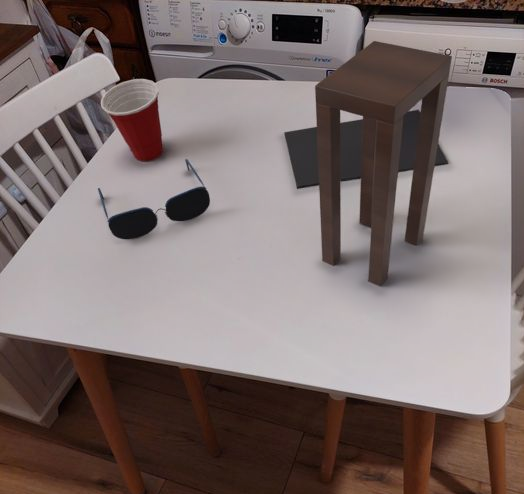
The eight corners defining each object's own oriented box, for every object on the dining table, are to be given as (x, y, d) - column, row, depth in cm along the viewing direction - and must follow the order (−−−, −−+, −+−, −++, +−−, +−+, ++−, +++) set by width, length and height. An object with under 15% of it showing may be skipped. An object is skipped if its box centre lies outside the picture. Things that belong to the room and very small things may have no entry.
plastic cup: (111, 166, 100) (87, 106, 91) (139, 136, 106) (119, 76, 96) (158, 173, 96) (138, 111, 87) (185, 141, 102) (168, 80, 93)
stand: (366, 216, 82) (374, 40, 61) (423, 238, 77) (452, 55, 57) (322, 260, 77) (314, 85, 56) (380, 286, 72) (395, 106, 52)
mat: (418, 111, 98) (418, 109, 98) (447, 163, 87) (448, 161, 87) (284, 134, 99) (284, 132, 99) (297, 188, 88) (296, 186, 88)
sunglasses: (117, 245, 85) (105, 219, 81) (105, 207, 95) (94, 182, 92) (214, 211, 87) (206, 185, 84) (192, 178, 97) (185, 153, 94)
